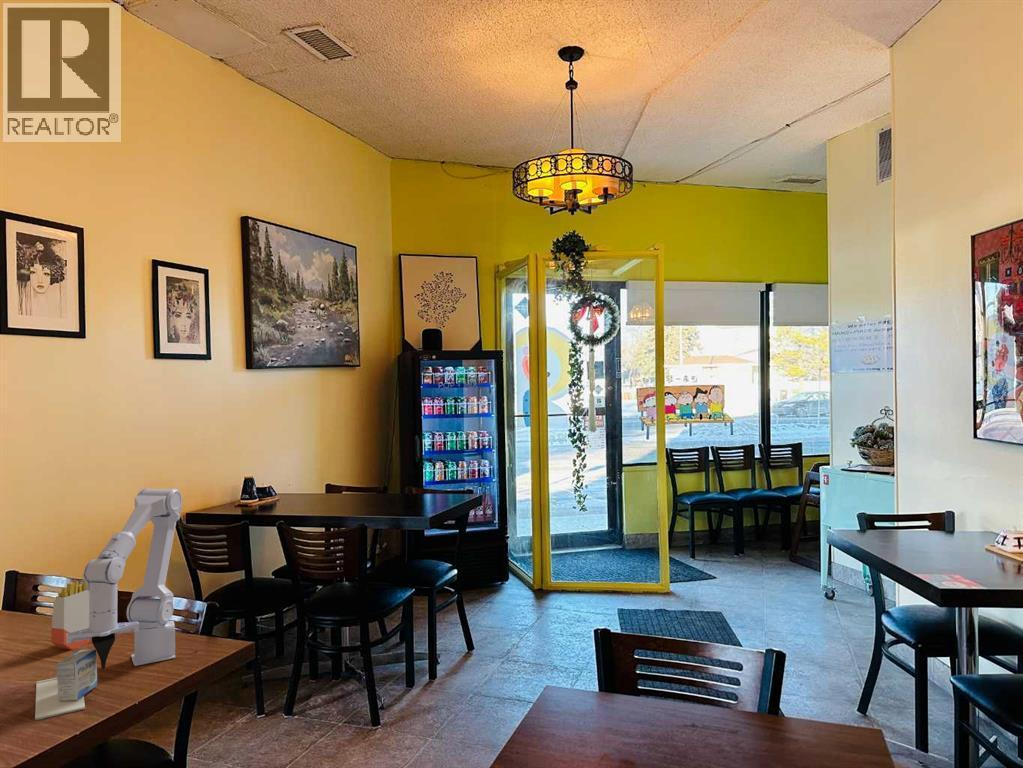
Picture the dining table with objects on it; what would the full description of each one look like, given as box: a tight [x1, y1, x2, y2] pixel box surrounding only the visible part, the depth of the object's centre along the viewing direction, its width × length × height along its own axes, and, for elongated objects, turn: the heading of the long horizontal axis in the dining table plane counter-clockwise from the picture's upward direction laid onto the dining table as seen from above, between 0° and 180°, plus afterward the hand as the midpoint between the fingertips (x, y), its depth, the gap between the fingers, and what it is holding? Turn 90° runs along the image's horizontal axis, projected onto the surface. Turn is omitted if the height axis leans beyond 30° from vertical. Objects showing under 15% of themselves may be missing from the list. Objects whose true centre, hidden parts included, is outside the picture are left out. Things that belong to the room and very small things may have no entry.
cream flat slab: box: [34, 677, 86, 721], centre depth 155 cm, size 9×22×1 cm, turn 34°
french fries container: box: [50, 578, 92, 651], centre depth 186 cm, size 5×11×18 cm, turn 166°
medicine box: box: [56, 649, 98, 701], centre depth 155 cm, size 8×4×9 cm, turn 2°
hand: (102, 667), depth 159 cm, fingers closed
